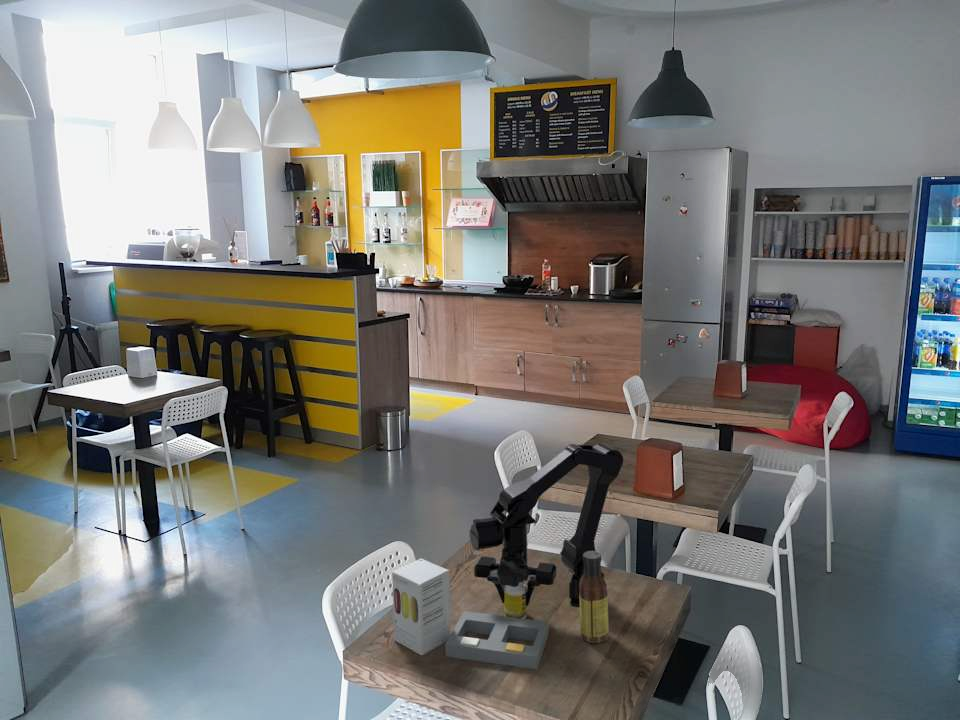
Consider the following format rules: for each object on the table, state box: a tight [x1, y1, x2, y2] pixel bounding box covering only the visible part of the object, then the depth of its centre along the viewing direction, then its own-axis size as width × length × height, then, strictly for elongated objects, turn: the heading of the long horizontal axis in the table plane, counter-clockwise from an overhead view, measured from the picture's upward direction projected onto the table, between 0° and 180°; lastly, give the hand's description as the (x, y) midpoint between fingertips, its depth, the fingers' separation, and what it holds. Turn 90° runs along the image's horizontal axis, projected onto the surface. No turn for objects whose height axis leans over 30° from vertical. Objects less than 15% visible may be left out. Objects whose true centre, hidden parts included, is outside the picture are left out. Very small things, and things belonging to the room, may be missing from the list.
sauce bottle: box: [579, 550, 610, 644], centre depth 163 cm, size 6×6×20 cm
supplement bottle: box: [503, 581, 528, 619], centre depth 174 cm, size 5×5×10 cm
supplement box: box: [391, 557, 452, 656], centre depth 163 cm, size 10×9×17 cm
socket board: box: [444, 610, 550, 670], centre depth 162 cm, size 20×14×3 cm
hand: (515, 603), depth 174 cm, fingers closed on supplement bottle, 5 cm apart
